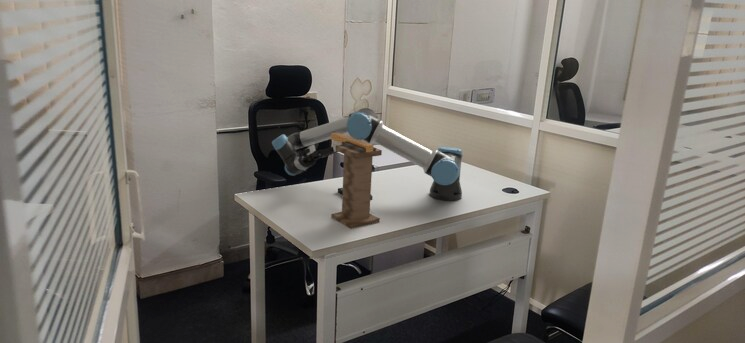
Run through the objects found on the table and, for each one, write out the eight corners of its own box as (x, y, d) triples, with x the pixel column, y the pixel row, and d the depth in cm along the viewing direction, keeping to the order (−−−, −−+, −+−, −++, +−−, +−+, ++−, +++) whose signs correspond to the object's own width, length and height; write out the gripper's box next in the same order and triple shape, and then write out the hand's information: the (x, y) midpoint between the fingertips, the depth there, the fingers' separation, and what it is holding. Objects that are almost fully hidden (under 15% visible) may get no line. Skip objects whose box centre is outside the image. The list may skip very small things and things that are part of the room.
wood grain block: (331, 139, 222) (331, 133, 221) (338, 138, 224) (338, 132, 223) (365, 152, 204) (366, 146, 203) (373, 151, 206) (373, 145, 205)
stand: (331, 217, 220) (333, 142, 211) (359, 211, 228) (362, 139, 219) (351, 228, 209) (354, 150, 200) (379, 222, 217) (383, 146, 209)
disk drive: (337, 194, 250) (353, 203, 238) (337, 188, 249) (353, 197, 237) (356, 191, 256) (373, 200, 244) (356, 185, 255) (373, 194, 243)
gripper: (330, 164, 251) (354, 151, 234) (282, 171, 237) (304, 157, 220) (326, 149, 252) (350, 134, 235) (278, 155, 238) (299, 140, 221)
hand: (328, 145), depth 228 cm, fingers open, 13 cm apart
